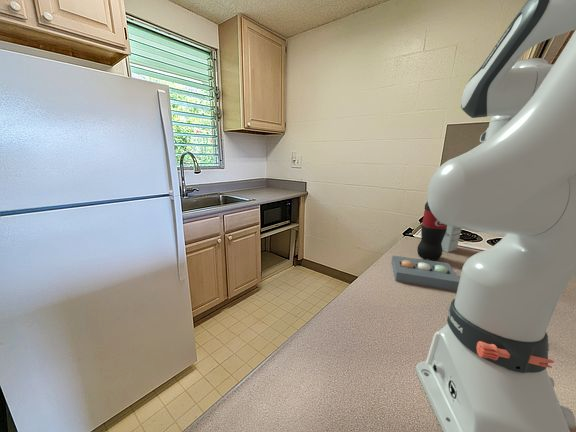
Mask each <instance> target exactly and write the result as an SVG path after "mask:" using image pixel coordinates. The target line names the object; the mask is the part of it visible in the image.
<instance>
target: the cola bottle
mask: <svg viewBox="0 0 576 432" xmlns="http://www.w3.org/2000/svg"><path fill="white" fill-rule="evenodd" d="M420 226H421V230H420V232H421V236H420V238H421V239H420V241H419V243H418V245H417V254H418V256H419V257H420V258H421V259H423V260H429V261H437V260H439V259H440V258H441V257H442V255H443V250H442V241H443V238H444V236H445V233H446V231H447V225H446V224H443V223H441V222H439V221H438V220H437V219H436V218H435V216H434V215H433V214H432V212H431V210H430V208H429V205H428V201H426V202H425V204H424V213H423V218H422V223H421V225H420Z"/></svg>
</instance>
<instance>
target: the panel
mask: <svg viewBox="0 0 576 432" xmlns="http://www.w3.org/2000/svg"><path fill="white" fill-rule="evenodd" d="M403 260H408V261H411V262H413V263H414V265H413V268H406V267H401V264H402V261H403ZM420 262H422V263H427V264H429V265H430V271H426V270H419V269H417V267H418V263H420ZM435 265H442V266H445V267H447V268H448V271H447V274H446V273H439V272H435V271H434V268H435ZM391 267H392V272H393V275H394V280H395V282H401V283H406V284H413V285H418V286H423V287H424V286H425V287H431V288H437V289H443V290H448V291H454V292H457V289H458V285H459V280H460V276H458V274H457V273H456V272H455V271H454V268H452V266H451V265H450V263H449V262H442V261H437V260H427V259H423V258H421V259H420V258H415V257H408V256H401V255H400V256H399V255H392V256H391Z"/></svg>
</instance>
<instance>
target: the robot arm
mask: <svg viewBox="0 0 576 432" xmlns="http://www.w3.org/2000/svg"><path fill="white" fill-rule="evenodd" d="M571 31H573V33H572V35H571V37H570V38H569V40H568V42H567V43H566V45H565V46H564V48H563V49H562V51H561V53H560V54H559V56H558V57H557V59H556V61H555V62H554V63H553V64H551V63H549V62H548V60H546V59H544V58H541V57H533V58H532V57H531V58H526V59H522V60H520V59H521V58H522V56H523V55H525V53H526V52H528V50H530V49H532V48H534V47H535V46H537V45H538V44H540V43H542V42H545V41H548V40H549V39H553V38H555V37H557V36H560V35H563V34H566V33H569V32H571ZM460 102H461V103H460V108H461V110H462V112H464V113H465V114H466V115H467V116H469V117H470V118H471V119H477V118H487V117H491V118H490V120H489V124H488V127H487V129H486V130H485V131H484V132H482V134H481V135H480V138H479V142H480V143H479V144H478V145H477V146H475V147H474V148H471V149H470V150H469V151H467V152H465V153H462V154H460V155H458V156H455V157H453V158H450V159H447V161H445V162H444V163H443V164H441V165H440V166H439V167H438V168H437V169H436V170H435V172H434V174H432V176H431V178H430V180H429V182H428V185H427V190H426V200H427V201H428V205H429V208H430V210H431V212H432V214H433V215H434V216H435V218H436V219H437V220H438V221H439V222H441V223H443V224H446V225H450V226H454V227H457V228H461V230H462V229H463V230H467V231H470V232H475V233H487V234H489V233H490V234H498V235H499V234H501V235H504V236H503V237H502V238H501V239H500V240H499V241H498V242H497V243H495V244H494V245H492V246H491V247H489V248H487V249H484V250H482V251H478V252H477V253H475V254H473V255H471V256H470V257H468V258H467V260H466V261H465V262H464V263H463V265H462V269H461V273H460V276H459V278H460V280H459V285H458V289H457V291H456V293H455V294H456V295H455V298H453V299H452V300H451V302H450V305H449V307H448V310H447V319H446V320H447V321H446V324H445V325H444V326H443V327H442V328H440V329H439V330H438V331H436V332H435V333H434V334H433V338H432V341H431V344H430V347H429V350H428V353H427V358H426V360H423V361H420V362H418V363H417V364H416V366H415V372H416V374H417V377H418V378H419V381H420V384H421V385H422V388H423V390H424V392H425V395H426V398H427V399H428V401H429V403H430V406H431V407H432V410H433V412H434V414H435V417H436V418H437V421H438V423H439V425H440V428H441V430H442V431H443V432H571V431H570V429H573V428H574V427H575V425H576V419H575V415H574V414H575V413H574V412H573V411H572V410H571V409H570V408H569V407H566V406H564V405H561V404H560V402H559V401H560V400H558V397H557V394H556V391H555V380H554V378H553V377H551V376H549V373H548V371H547V368H550V369H552V368H553V366H552V365H549V364H554V363H555V362H554V360H552V359H549V351H550V345H549V336H548V333H547V330H548V327H549V324H550V323H551V320H552V317H553V315H554V312H555V310H556V308H557V305H558V302H559V300H560V298H561V296H562V294H563V293H564V291H565V289H566V288H567V286H568V285H569V283H570V282H571V281H572V280H573V279H574V277H575V276H576V0H527V1H526V2H525V3H524V5H523V6H522V7H521V9H519V11H518V13H517V14H516V15H515V17H514V18H513V19H512V21H511V22H510V23H509V25H508V26H507V28H506V29H505V31H504V32H503V34H502V35H501V37H500V38H499V40H498V41H497V43H496V44H495V46H494V47H493V49H492V50H491V51H490V53H489V55H488V56H487V57H486V58H485V60H484V62H483V63H482V64H481V66H480V67H479V69H477V70H476V72H475V73H474V74H473V75H472V76H471V77H470V79H469V80H468V81H467V83H466V85H465V87H464V89H463V92H462V95H461V101H460ZM427 201H426V202H427Z"/></svg>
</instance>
